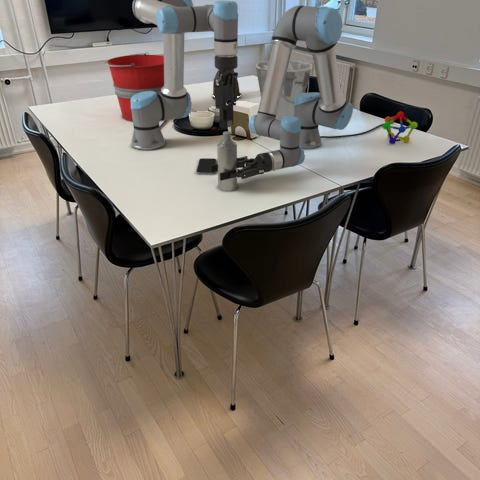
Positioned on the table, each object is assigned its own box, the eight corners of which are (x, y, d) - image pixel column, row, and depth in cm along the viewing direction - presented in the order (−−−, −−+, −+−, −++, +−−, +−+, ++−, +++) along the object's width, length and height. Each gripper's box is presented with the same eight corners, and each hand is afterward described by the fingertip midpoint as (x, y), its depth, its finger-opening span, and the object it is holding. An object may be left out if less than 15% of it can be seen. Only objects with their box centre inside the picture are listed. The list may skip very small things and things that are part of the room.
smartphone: (196, 172, 178) (199, 158, 191) (196, 173, 178) (199, 159, 191) (214, 172, 178) (216, 158, 191) (214, 174, 178) (216, 159, 191)
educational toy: (377, 146, 209) (379, 114, 202) (384, 138, 219) (386, 107, 211) (411, 149, 202) (415, 116, 195) (417, 141, 212) (420, 109, 204)
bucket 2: (281, 130, 226) (284, 73, 211) (242, 117, 244) (243, 64, 230) (319, 119, 242) (324, 65, 228) (280, 107, 261) (283, 57, 246)
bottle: (239, 189, 167) (240, 134, 155) (222, 192, 164) (221, 136, 153) (232, 182, 172) (232, 128, 161) (215, 185, 170) (214, 130, 158)
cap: (234, 125, 157) (234, 119, 155) (228, 128, 154) (228, 122, 152) (224, 123, 158) (224, 117, 157) (218, 126, 155) (218, 120, 154)
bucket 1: (121, 106, 263) (114, 51, 247) (180, 106, 262) (176, 52, 246) (104, 123, 233) (95, 63, 217) (170, 124, 232) (166, 64, 216)
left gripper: (224, 60, 136) (225, 134, 148) (247, 52, 148) (246, 120, 161) (203, 58, 138) (205, 131, 151) (227, 50, 151) (227, 117, 164)
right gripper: (282, 180, 167) (228, 192, 157) (254, 162, 181) (204, 172, 172) (283, 161, 163) (227, 173, 153) (255, 144, 177) (203, 154, 168)
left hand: (226, 125), depth 156 cm, fingers closed on cap, 4 cm apart
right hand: (215, 173), depth 163 cm, fingers closed on bottle, 7 cm apart
